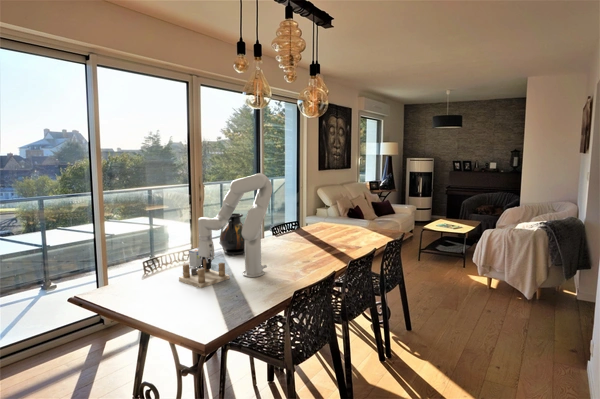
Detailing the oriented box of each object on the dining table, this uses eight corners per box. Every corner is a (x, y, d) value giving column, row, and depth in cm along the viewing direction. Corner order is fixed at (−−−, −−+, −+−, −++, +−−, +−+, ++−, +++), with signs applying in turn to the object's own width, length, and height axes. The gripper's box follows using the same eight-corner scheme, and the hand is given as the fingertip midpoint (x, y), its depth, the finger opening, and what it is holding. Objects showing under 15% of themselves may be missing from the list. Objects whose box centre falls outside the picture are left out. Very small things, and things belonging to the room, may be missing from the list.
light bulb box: (201, 262, 255) (200, 246, 254) (208, 263, 252) (208, 247, 250) (189, 266, 246) (188, 249, 245) (196, 267, 243) (196, 251, 241)
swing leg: (207, 269, 232) (206, 258, 231) (210, 270, 229) (210, 259, 229) (189, 274, 222) (189, 263, 221) (193, 275, 220) (193, 264, 219)
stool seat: (207, 272, 233) (207, 257, 232) (229, 278, 221) (229, 263, 220) (179, 280, 218) (178, 265, 217) (200, 288, 206) (199, 271, 204)
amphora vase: (245, 257, 267) (244, 217, 263) (215, 256, 270) (214, 216, 267) (253, 249, 288) (252, 212, 284) (226, 248, 291) (224, 212, 288)
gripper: (219, 238, 224) (220, 269, 227) (202, 235, 235) (203, 264, 237) (208, 241, 219) (209, 272, 221) (191, 237, 229) (192, 267, 231)
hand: (206, 267), depth 229 cm, fingers closed on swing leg, 3 cm apart
